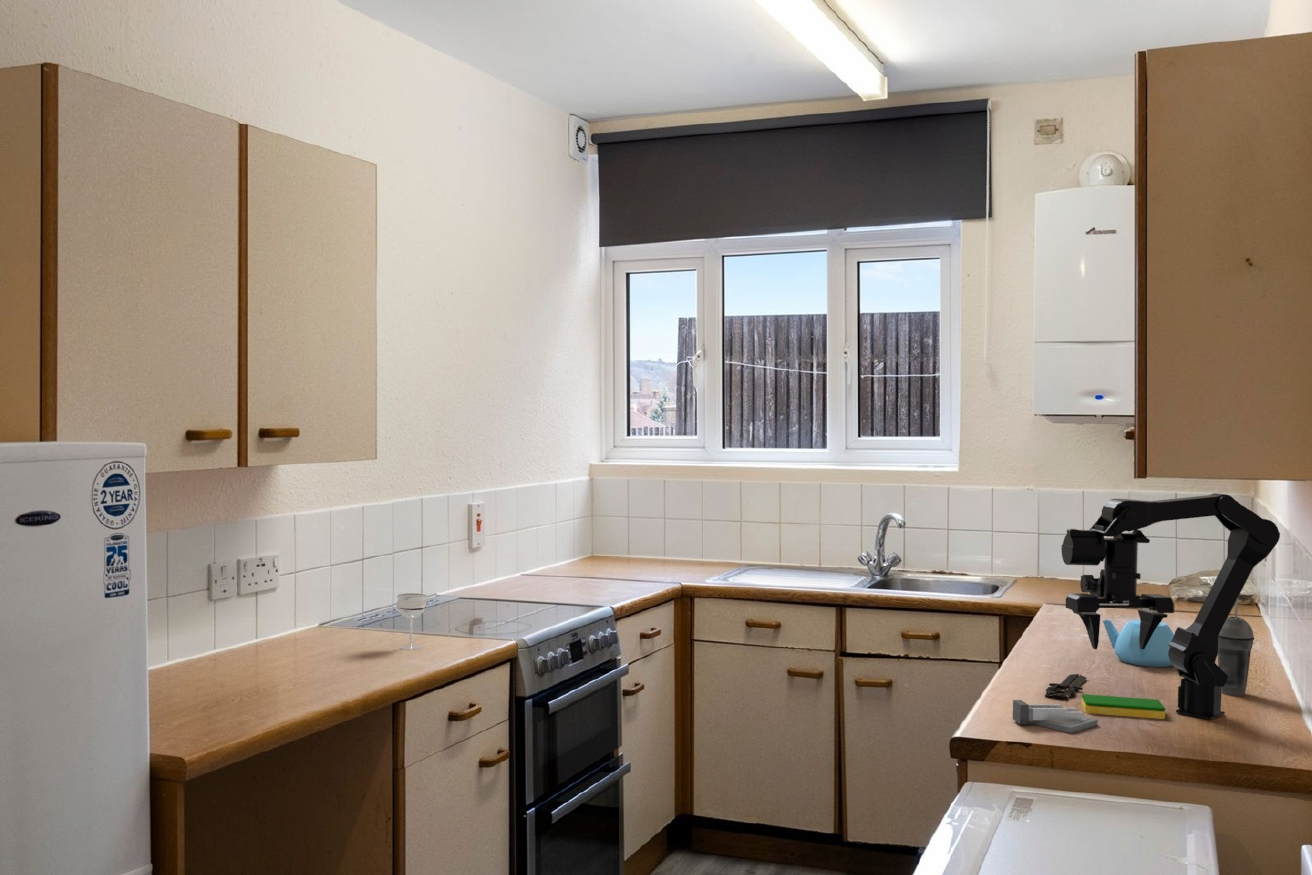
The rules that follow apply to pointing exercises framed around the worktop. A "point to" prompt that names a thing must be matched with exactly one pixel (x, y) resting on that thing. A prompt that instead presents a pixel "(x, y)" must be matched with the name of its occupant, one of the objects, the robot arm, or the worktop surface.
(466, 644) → the worktop surface
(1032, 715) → the grey stepped bar
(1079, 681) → the dark piece
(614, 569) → the worktop surface
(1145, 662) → the teapot
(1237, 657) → the beverage cup
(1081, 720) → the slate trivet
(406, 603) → the wineglass
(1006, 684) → the worktop surface
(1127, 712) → the dish sponge
